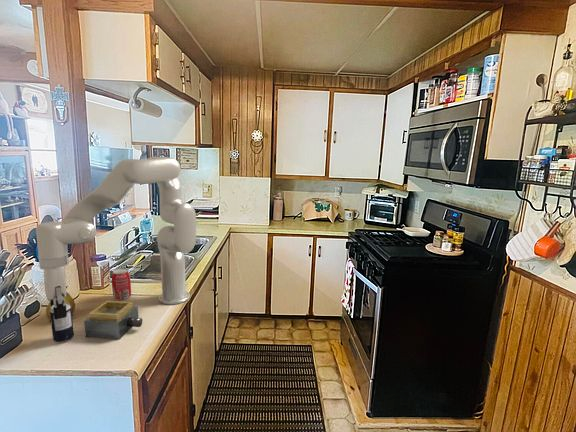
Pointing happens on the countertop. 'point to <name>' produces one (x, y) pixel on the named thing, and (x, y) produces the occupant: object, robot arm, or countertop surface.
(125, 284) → the soda can
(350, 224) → the countertop surface
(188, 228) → the robot arm
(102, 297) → the countertop surface
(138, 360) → the countertop surface
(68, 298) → the fruit
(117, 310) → the box
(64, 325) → the beverage can
